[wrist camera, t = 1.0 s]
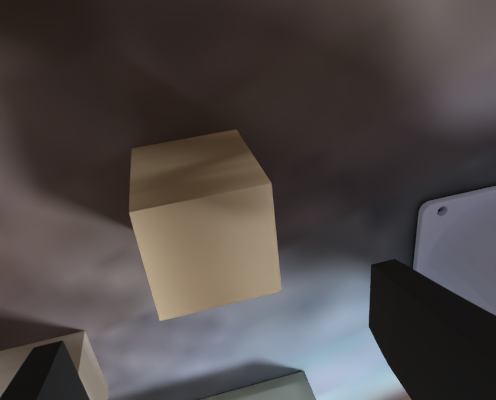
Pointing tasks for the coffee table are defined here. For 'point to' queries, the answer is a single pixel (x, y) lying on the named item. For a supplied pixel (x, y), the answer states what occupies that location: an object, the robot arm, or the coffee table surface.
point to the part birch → (9, 361)
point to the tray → (272, 390)
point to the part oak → (203, 223)
